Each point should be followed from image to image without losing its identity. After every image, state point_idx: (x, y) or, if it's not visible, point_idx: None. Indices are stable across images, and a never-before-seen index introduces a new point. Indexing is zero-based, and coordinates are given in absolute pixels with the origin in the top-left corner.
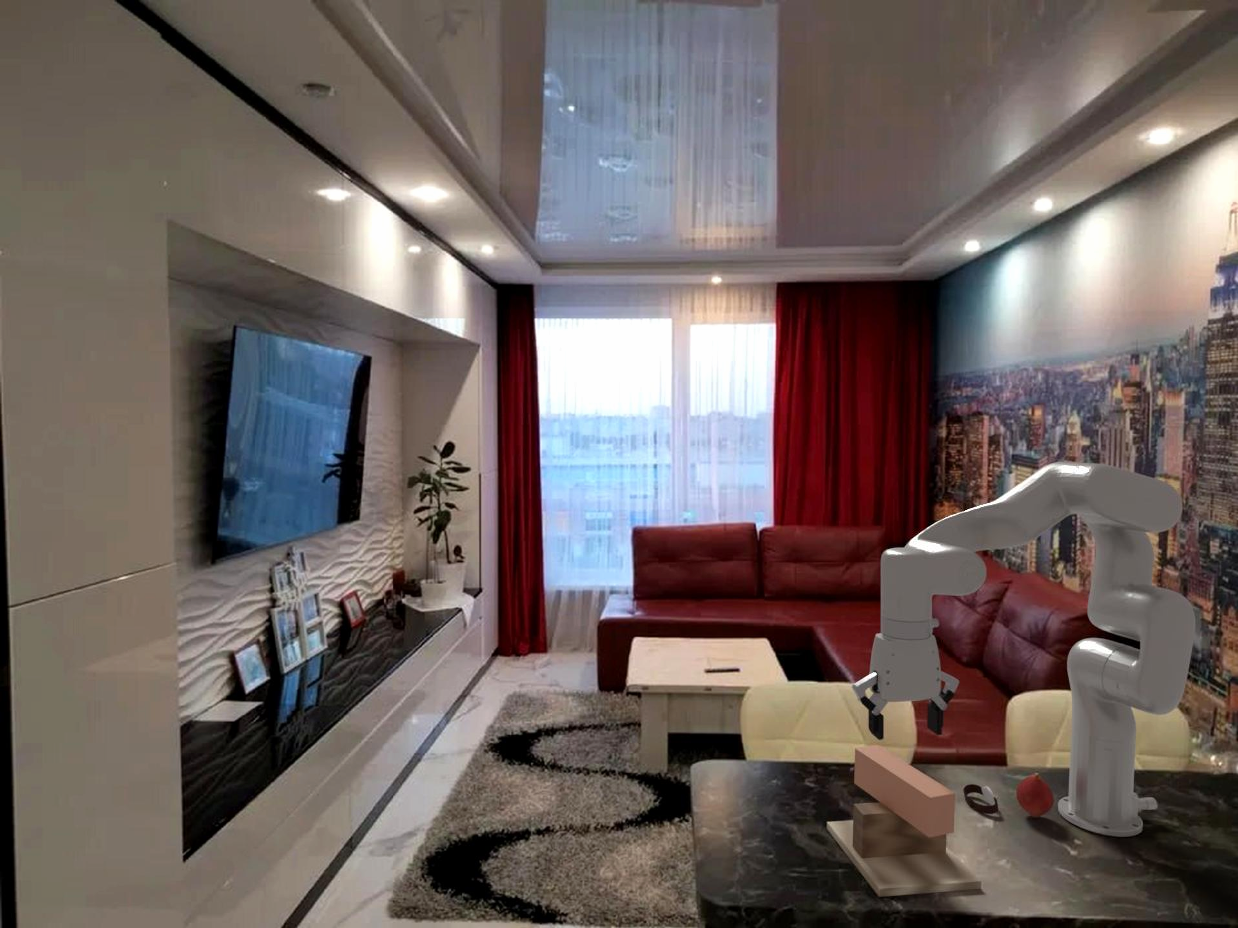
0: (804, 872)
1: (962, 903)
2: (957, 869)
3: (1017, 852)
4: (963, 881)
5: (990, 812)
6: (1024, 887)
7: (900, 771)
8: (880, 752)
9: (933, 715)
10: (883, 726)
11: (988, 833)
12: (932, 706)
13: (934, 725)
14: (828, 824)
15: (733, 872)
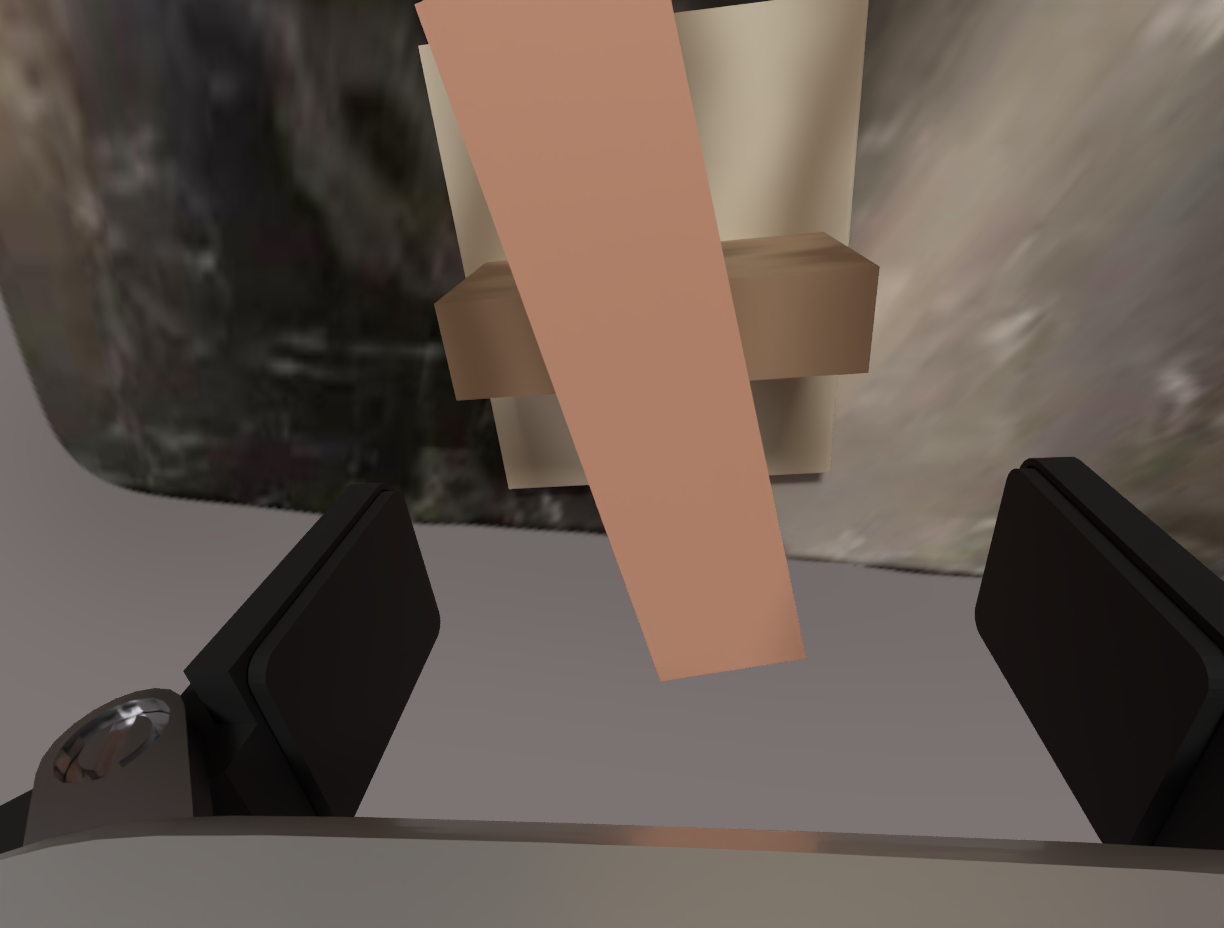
0: (317, 359)
1: None
2: (794, 413)
3: (1123, 269)
4: (773, 470)
5: None
6: (961, 460)
7: (634, 437)
8: (614, 111)
9: (1085, 716)
10: (397, 720)
11: (1137, 110)
12: (1203, 778)
13: (1017, 639)
14: (423, 65)
15: (102, 350)
